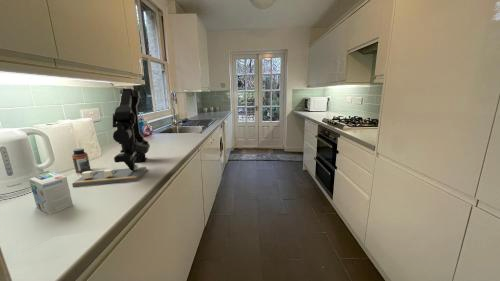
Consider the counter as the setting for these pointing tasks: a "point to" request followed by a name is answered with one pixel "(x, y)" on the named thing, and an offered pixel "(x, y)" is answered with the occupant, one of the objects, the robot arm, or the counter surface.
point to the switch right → (87, 174)
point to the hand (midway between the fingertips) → (132, 170)
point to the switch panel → (118, 176)
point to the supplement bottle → (80, 160)
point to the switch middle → (108, 173)
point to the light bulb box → (51, 192)
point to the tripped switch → (136, 166)
